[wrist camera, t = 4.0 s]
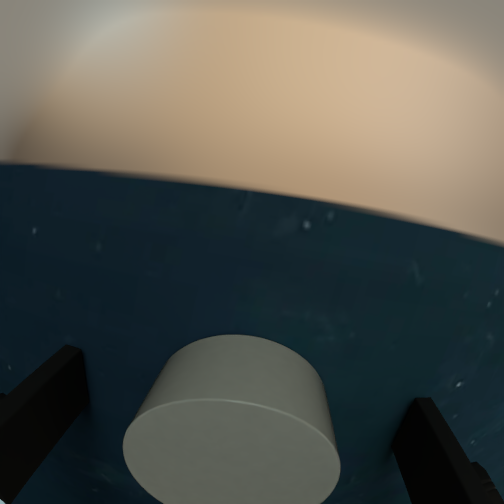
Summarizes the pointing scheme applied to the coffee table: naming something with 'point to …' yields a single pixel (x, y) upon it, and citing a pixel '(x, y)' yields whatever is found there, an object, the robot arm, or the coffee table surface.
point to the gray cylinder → (234, 427)
